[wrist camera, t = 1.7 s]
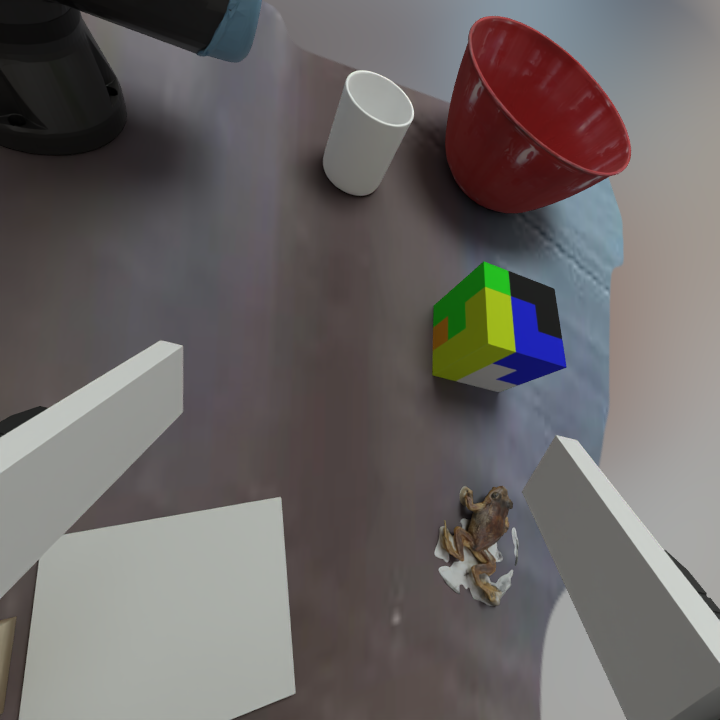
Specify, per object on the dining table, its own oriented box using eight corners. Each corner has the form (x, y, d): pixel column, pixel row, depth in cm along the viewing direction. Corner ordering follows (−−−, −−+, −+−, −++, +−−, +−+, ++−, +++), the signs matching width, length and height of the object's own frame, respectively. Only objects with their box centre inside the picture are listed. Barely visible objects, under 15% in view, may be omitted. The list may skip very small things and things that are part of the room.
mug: (393, 163, 53) (430, 92, 43) (364, 208, 47) (400, 138, 38) (346, 130, 51) (373, 49, 42) (310, 172, 46) (333, 90, 36)
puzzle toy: (498, 392, 44) (566, 367, 35) (432, 375, 41) (488, 343, 33) (494, 325, 48) (554, 288, 40) (433, 306, 45) (483, 261, 37)
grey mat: (12, 802, 20) (7, 809, 19) (45, 537, 24) (41, 538, 24) (294, 690, 26) (295, 693, 26) (280, 496, 30) (281, 496, 30)
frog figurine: (442, 457, 38) (463, 454, 35) (524, 508, 40) (552, 509, 37) (407, 565, 33) (428, 573, 30) (503, 618, 34) (533, 632, 31)
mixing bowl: (544, 275, 57) (645, 207, 43) (395, 193, 50) (458, 84, 37) (545, 171, 69) (623, 93, 56) (425, 95, 63) (481, -14, 49)
